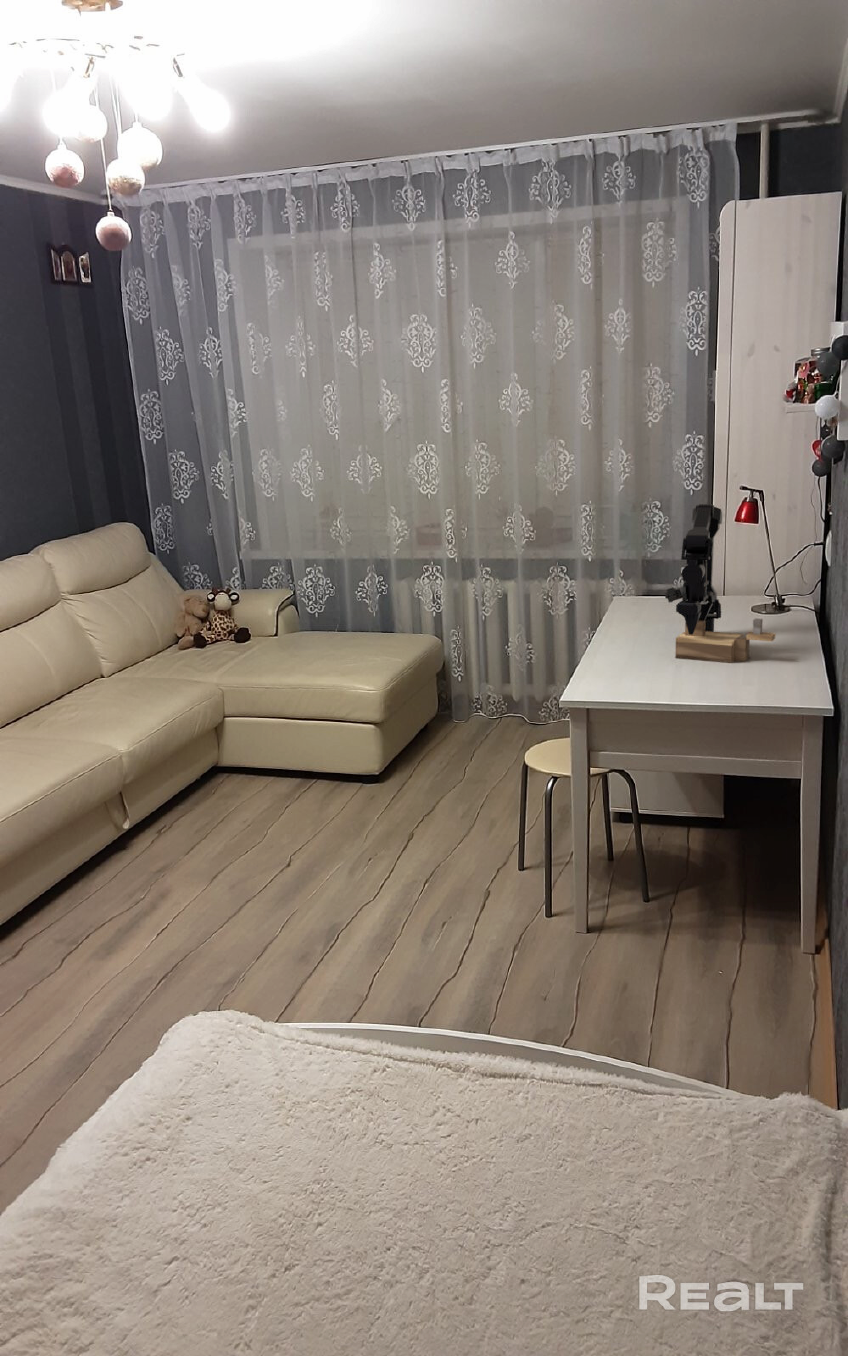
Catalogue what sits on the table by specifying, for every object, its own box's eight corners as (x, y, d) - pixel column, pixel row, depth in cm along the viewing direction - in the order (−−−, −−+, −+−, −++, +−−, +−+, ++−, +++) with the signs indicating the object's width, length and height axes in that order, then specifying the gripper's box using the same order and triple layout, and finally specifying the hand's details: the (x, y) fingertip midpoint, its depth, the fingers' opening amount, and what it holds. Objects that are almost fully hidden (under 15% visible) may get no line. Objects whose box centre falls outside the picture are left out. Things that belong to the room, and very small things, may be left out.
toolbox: (686, 649, 315) (687, 629, 313) (751, 654, 305) (752, 634, 304) (675, 658, 306) (675, 637, 304) (741, 663, 296) (742, 643, 295)
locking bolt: (749, 636, 301) (750, 617, 299) (775, 638, 297) (776, 619, 296) (746, 639, 297) (747, 620, 296) (771, 641, 294) (772, 622, 292)
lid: (687, 633, 313) (687, 616, 312) (741, 637, 305) (742, 620, 304) (675, 641, 304) (676, 624, 303) (731, 645, 296) (732, 628, 295)
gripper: (678, 571, 314) (677, 622, 318) (658, 582, 298) (657, 636, 303) (716, 572, 308) (714, 625, 312) (697, 584, 293) (696, 639, 297)
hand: (695, 631), depth 306 cm, fingers open, 8 cm apart
